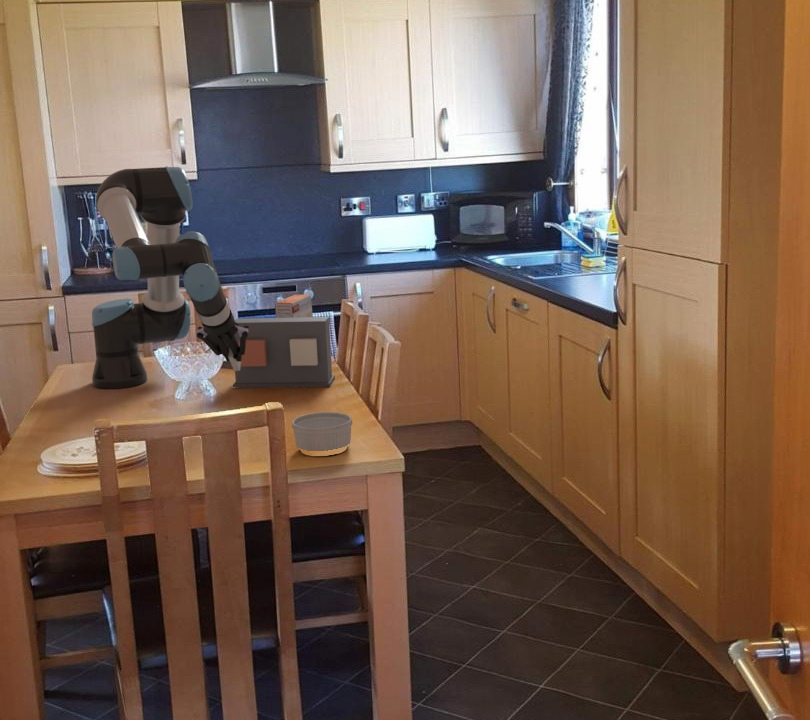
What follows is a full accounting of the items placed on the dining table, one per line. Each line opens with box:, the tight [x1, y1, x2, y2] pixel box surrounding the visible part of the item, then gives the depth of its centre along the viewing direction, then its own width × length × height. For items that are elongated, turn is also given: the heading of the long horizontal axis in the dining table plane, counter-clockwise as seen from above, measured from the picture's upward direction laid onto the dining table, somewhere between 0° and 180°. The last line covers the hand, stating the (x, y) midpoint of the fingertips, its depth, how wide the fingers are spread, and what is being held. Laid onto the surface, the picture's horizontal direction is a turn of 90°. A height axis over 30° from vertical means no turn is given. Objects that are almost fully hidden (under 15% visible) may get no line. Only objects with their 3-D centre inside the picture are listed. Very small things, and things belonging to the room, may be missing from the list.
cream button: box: [290, 338, 318, 366], centre depth 276 cm, size 10×7×7 cm, turn 175°
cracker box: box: [274, 293, 313, 318], centre depth 295 cm, size 14×6×21 cm, turn 162°
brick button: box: [238, 339, 267, 366], centre depth 277 cm, size 10×7×7 cm, turn 175°
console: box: [232, 316, 336, 389], centre depth 278 cm, size 9×27×18 cm, turn 85°
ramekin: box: [291, 411, 353, 451], centre depth 220 cm, size 13×13×7 cm
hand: (237, 366), depth 257 cm, fingers closed
